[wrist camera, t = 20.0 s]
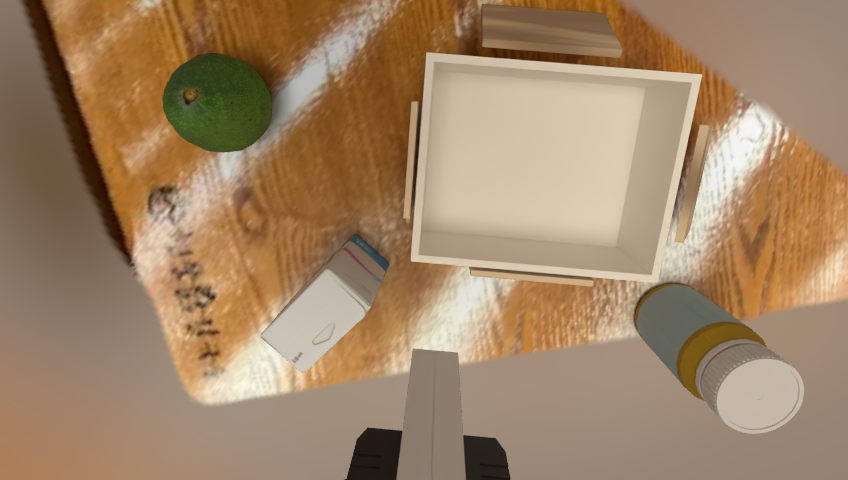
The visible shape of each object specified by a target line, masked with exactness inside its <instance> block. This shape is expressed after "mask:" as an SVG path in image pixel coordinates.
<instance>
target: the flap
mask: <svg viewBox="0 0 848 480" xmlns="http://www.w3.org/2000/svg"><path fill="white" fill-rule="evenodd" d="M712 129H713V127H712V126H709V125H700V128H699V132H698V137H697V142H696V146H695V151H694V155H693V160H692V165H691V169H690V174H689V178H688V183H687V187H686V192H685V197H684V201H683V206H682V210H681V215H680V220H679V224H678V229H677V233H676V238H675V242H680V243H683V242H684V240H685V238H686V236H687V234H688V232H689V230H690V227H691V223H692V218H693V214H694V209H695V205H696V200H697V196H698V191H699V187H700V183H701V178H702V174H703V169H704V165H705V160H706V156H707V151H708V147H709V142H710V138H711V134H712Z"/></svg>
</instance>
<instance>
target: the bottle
mask: <svg viewBox="0 0 848 480" xmlns="http://www.w3.org/2000/svg"><path fill="white" fill-rule="evenodd" d="M635 325H636V329H637V331H638V333H639V335H640V336H641V337H642V339H643V340H644V341H645V342H646V343H647V344H648V346H649V347H650V348H651V349H652V350H653V351H654V352H655V354H656V355H657V356H658V357H659V358H660V359H661V361H662V362H663V363H664V364H665V365H666V366H667V367H668V369H669V370H670V371H671V372H672V373H673V374H674V375H675V376H676V378H677V379H678V380H679V381H680V382H681V383H682V384H683V385H684V387H685V388H687V390H688V391H690V392H691V393H692V394H693V395H694V396H696V397H697V398H700V399H702V400H704V401H705V402H706V403H707V404H708V405H709V407H710V408H711V409H712V410H713V411H714V412H715V413H716V414H717V415H718V416H719V417H720V419H721V420H722V421H723V422H724V423H726V424H727V425H729V426H730V427H731V428H733V429H736V430H738V431H740V432H744V433H764V432H768V431H772V430H774V429H776V428H778V427H780V426H782V425H784V424H785V423H786V422H788V421H789V420H790V419H791V418H792V417H793V416H794V415H795V414H796V412H797V411H798V409H799V408H800V406H801V404H802V401H803V396H804V385H803V381H802V379H801V377H800V375H799V374H798V372H797V371H796V370H795V369H794V367H793V366H791V365H790V364H789V363H788V362H786V361H785V360H784V359H782V358H781V357H779V356H778V355H776V354H775V353H774V352H772V351H771V350H769V349H768V348H767V347H766V345H765V343H764V341H763V339H762V338H761V337H760V336H758V335H757V334H756V333H755V332H754V331H753V330H752V329H750V328H749V327H747V326H746V325H745V324H743V323H742V322H740V321H739V320H738V319H736V318H735V317H733V316H732V315H730V314H729V313H728V312H726V311H725V310H723V309H722V308H721V307H719V306H718V305H716V304H715V303H713V302H712V301H711V300H709V299H708V298H706V297H705V296H704V295H702V294H701V293H699V292H698V291H696V290H694V289H693V288H691V287H689V286H686V285H683V284H675V283H671V284H666V285H662V286H659V287H657V288H655V289H653V290H651V291H650V292H649V293H648V294H647V295H645V296H644V297H643V299H642V300H641V301H640V303H639V305H638V307H637V309H636V314H635Z"/></svg>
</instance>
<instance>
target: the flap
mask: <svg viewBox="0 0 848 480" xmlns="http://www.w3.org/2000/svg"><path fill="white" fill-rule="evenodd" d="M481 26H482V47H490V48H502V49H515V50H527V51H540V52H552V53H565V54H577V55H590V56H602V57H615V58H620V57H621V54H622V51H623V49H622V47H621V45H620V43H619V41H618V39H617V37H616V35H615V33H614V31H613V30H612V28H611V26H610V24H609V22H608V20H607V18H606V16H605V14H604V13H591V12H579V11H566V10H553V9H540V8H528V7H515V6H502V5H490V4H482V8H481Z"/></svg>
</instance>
